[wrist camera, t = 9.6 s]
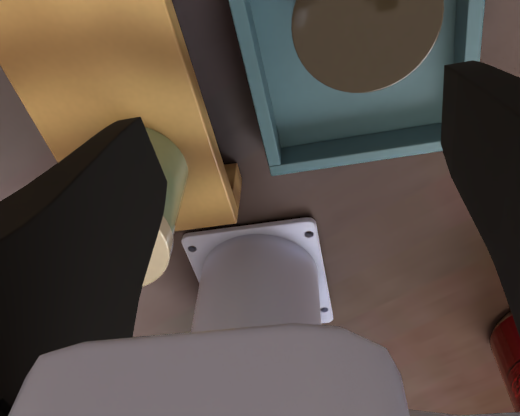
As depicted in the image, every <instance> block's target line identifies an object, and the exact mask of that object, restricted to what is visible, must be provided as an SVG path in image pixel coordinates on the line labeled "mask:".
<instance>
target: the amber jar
mask: <svg viewBox="0 0 520 416" xmlns="http://www.w3.org/2000/svg"><path fill="white" fill-rule="evenodd" d="M443 15H444V0H293V4H292V11H291V32H292V40H293V44H294V48H295V51H296V53H297V56H298V58H299V60H300V61H301V63H302V65H303V66H304V67H305V69H306V70H307V71H308V72H309V73H310V74H311V75H312V76H313V77H314V78H315V79H316V80H318V81H319V82H321V83H322V84H324V85H326V86H328V87H330V88H333V89H335V90H339V91H342V92H348V93H368V92H374V91H378V90H382V89H384V88H387V87H390V86H392V85H394V84H396V83H398V82H399V81H401V80H403V79H404V78H406V77H407V76H408V75H410V74H411V73H412V72H413V71H414V70H415V69H417V68H418V67H419V66H420V65H421V63H422V62H423V61H424V60H425V59H426V57H427V56H428V54H429V53H430V51H431V50H432V48H433V46H434V44H435V42H436V40H437V38H438V35H439V33H440V30H441V26H442V22H443Z"/></svg>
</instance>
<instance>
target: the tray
mask: <svg viewBox="0 0 520 416" xmlns="http://www.w3.org/2000/svg"><path fill="white" fill-rule="evenodd" d="M228 1H229V6H230V10H231V14H232V18H233V22H234V26H235V30H236V34H237V38H238V42H239V46H240V51H241V55H242V59H243V63H244V67H245V71H246V75H247V79H248V83H249V87H250V91H251V96H252V100H253V104H254V108H255V112H256V116H257V120H258V124H259V128H260V132H261V136H262V141H263V145H264V149H265V153H266V157H267V161H268V165H269V169H270V173H271V176H276V175H282V174H289V173H296V172H303V171H310V170H316V169H323V168H330V167H337V166H343V165H350V164H357V163H364V162H371V161H377V160H384V159H391V158H398V157H404V156H411V155H418V154H425V153H432V152H438V151H443V149H442V146H441V124H442V102H443V81H444V65H448V64H454V63H460V62H466V61H472V60H474V61H478V62H480V51H481V40H482V29H483V17H484V6H485V0H444V15H443V22H442V26H441V30H440V33H439V35H438V38H437V40H436V42H435V44H434V46H433V48H432V50H431V51H430V53H429V54H428V56H427V57H426V59H425V60H424V61H423V62H422V63H421V65H420V66H419V67H418V68H417V69H415V70H414V71H413V72H412V73H411V74H410V75H408V76H407V77H406V78H404V79H403V80H401V81H399V82H398V83H396V84H394V85H392V86H390V87H387V88H384V89H382V90H378V91H374V92H368V93H348V92H342V91H339V90H335V89H333V88H330V87H328V86H326V85H324V84H322V83H321V82H319V81H318V80H316V79H315V78H314V77H313V76H312V75H311V74H310V73H309V72H308V71H307V70H306V69H305V67H304V66H303V65H302V63H301V61H300V60H299V58H298V56H297V53H296V51H295V48H294V44H293V40H292V32H291V11H292V4H293V0H228Z"/></svg>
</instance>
